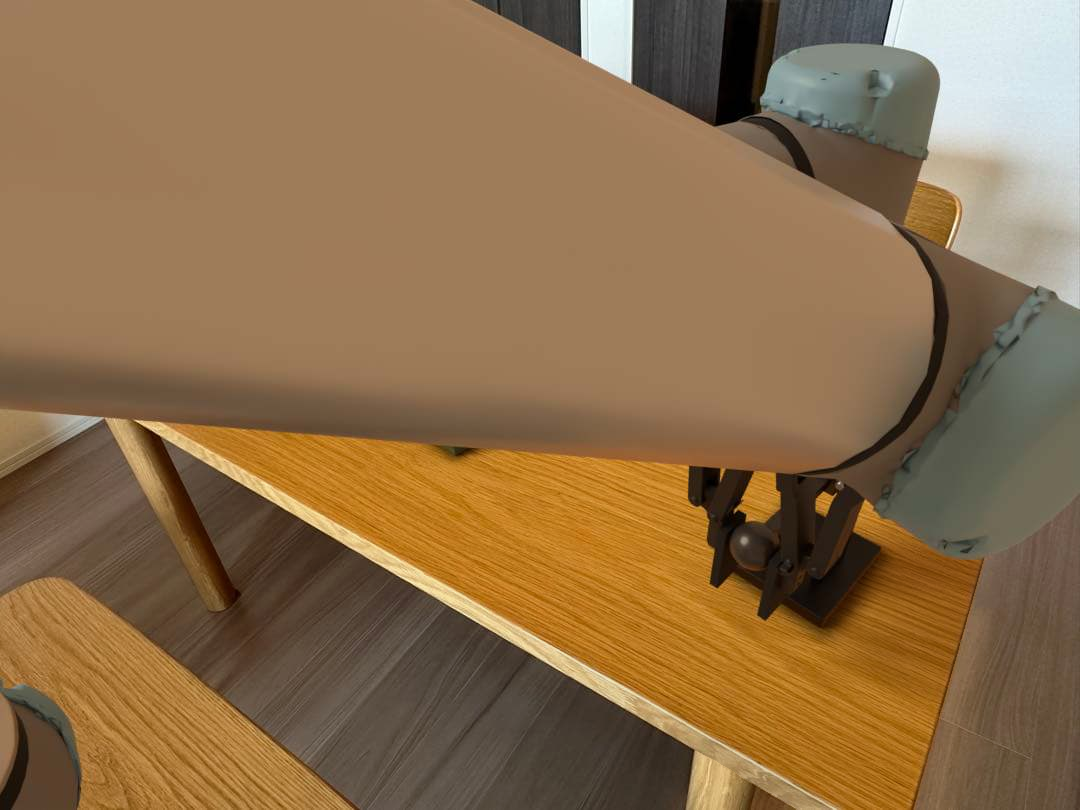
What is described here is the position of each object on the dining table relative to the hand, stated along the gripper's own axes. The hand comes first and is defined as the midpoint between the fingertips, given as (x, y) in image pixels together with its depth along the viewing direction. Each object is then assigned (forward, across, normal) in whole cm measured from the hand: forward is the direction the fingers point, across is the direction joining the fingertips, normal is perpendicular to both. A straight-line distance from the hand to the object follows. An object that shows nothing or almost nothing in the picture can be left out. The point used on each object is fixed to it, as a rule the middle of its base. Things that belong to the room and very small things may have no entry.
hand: (746, 591), depth 55 cm
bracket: (+7, 0, -12) cm, 14 cm away
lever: (-3, 0, -5) cm, 6 cm away
